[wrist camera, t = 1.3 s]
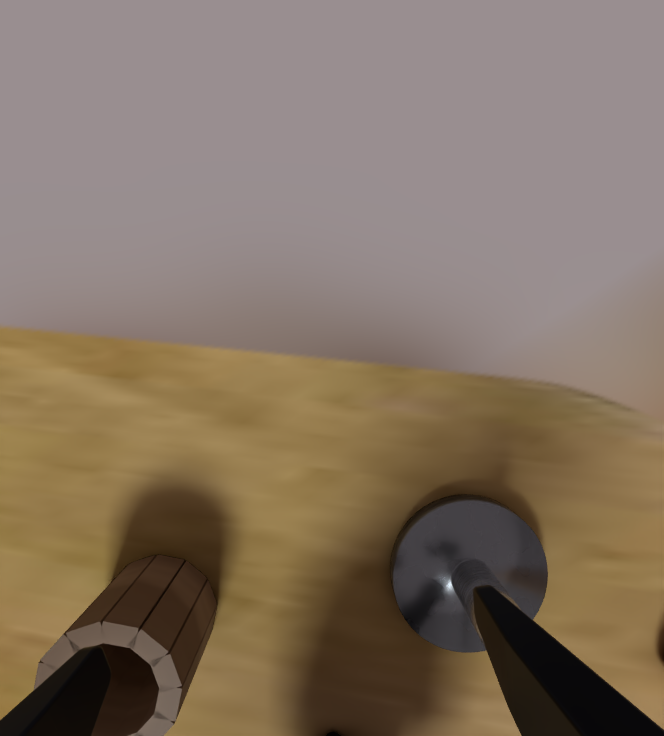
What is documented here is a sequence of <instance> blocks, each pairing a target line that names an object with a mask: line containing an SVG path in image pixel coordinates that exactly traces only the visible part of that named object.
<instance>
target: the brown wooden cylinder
mask: <svg viewBox="0 0 664 736" xmlns="http://www.w3.org/2000/svg"><path fill="white" fill-rule="evenodd" d="M206 579H207V577H205V576H204V575H203V574H202V573H201V572H199V571H198V570H197V569H196V568H195V567H194V566H192V565H191V564H190V563H189V562H188V561H186V562H185V563H184V559H178V558H173V557H168V556H163V555H157V556H156V555H153V556H150V557H147V558H144V559H141V560H138V561H135V562H132V563H130V564H129V565H127V566H126V567H125V568H124V569H123V570H122V571H121V573H120V574H119V575H118V576H117V577H116V578H115V579H114V580H113V581H112V582H111V583H110V584H109V585H108V587H107V588H106V589H105V590H104V591H103V592H102V593H101V594H100V595H99V596H98V597H97V598H96V600H95V601H94V602H93V603H92V604H91V605H90V606H89V607H88V608H87V609H86V610H85V611H84V612H83V614H82V615H81V616H80V617H79V618H78V619H77V620H76V621H75V622H74V623H73V624H72V625H71V626H70V628H69V629H68V630H67V631H66V632H65V633H64V634H63V635H62V636H61V637H60V638H59V640H58V641H57V642H56V643H55V644H54V645H53V646H52V647H51V648H50V650H49V651H48V652H47V653H46V654H45V655H44V656H43V657H42V658H41V661H40V662H39V664H38V669H37V675H36V680H35V686H34V690H35V689H36V688H37V687H38V686H39V685H40V684H42V683H43V682H44V681H45V680H46V679H47V678H48V677H49V676H50V675H52V674H53V673H54V672H55V671H56V670H57V669H58V668H59V667H61V666H62V665H63V664H64V663H65V662H66V661H67V660H68V659H69V658H71V657H72V656H73V655H74V654H75V653H76V652H77V651H79V650H80V649H82V648H84V647H90V646H96V645H99V646H101V647H102V648H103V650H104V653H105V655H106V658H107V660H108V663H109V666H110V668H111V681H110V684H109V687H108V690H107V693H106V696H105V699H104V701H103V704H102V707H101V710H100V713H99V716H98V718H97V721H96V724H95V727H94V730H93V732H92V735H91V736H164V734H165V733H166V732H167V731H168V730H169V729H170V728H171V727H172V726H173V725H174V723H175V721H176V719H177V716H178V714H179V711H180V709H181V706H182V704H183V701H184V699H185V697H186V694H187V692H188V689H189V687H190V684H191V682H192V679H193V677H194V674H195V672H196V669H197V667H198V664H199V662H200V660H201V657H202V655H203V652H204V650H205V647H206V645H207V642H208V640H209V637H210V635H211V632H212V629H213V624H214V619H215V614H216V609H217V606H216V605H217V603H216V600H215V597H214V594H213V592H212V589H211V586H210V583H209V580H206Z"/></svg>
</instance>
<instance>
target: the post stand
mask: <svg viewBox="0 0 664 736" xmlns="http://www.w3.org/2000/svg"><path fill="white" fill-rule="evenodd" d="M390 575H391V582H392V586H393V590H394V594H395V597H396V601H397V603H398V606H399V608H400V611H401V613H402V615H403V616H404V618H405V620H406V621H407V622H408V624H409V625H410V626H411V628H412V629H413V630H414V631H415V632H416V633H417V634H419V635H420V636H421V637H423V638H424V639H425V640H427V641H428V642H430V643H432V644H434V645H436V646H438V647H441V648H443V649H447V650H451V651H456V652H480V651H485V650H486V647H485V645H484V642H483V639H482V637H481V634H480V631H479V629H478V626H477V623H476V619H475V614H474V600H473V589H474V587H476V586H483V585H491V586H493V587H494V588H495V589H496V590H498V591H499V592H500V593H501V594H502V595H503V596H505V597H506V598H507V599H508V600H509V601H511V602H512V603H513V604H514V605H515V606H517V607H518V608H519V609H520V610H521V611H523V612H524V613H525V614H526V615H527V616H528V617H530V618H531V619H532V620H533V619H534V617H535V615H536V614H537V612H538V611H539V608H540V606H541V604H542V602H543V599H544V596H545V593H546V587H547V577H548V571H547V562H546V557H545V553H544V551H543V548H542V545H541V543H540V541H539V540H538V538H537V536H536V535H535V533H534V532H533V530H532V529H531V528H530V527H529V526H528V525H527V524H526V523H525V522H524V521H523V520H522V519H521V518H520V517H519V516H517V515H516V514H515V513H514V512H513V511H511V510H510V509H509V508H508V507H506V506H504V505H503V504H501V503H499V502H497V501H495V500H492V499H490V498H486V497H483V496H477V495H454V496H449V497H445V498H442V499H439V500H437V501H434V502H432V503H430V504H428V505H427V506H425V507H423V508H422V509H421V510H419V511H418V512H417V513H416V514H415V515H414V516H412V517H411V518H410V519H409V521H408V522H407V523H406V524H405V526H404V527H403V528H402V530H401V532H400V533H399V535H398V537H397V539H396V542H395V544H394V547H393V551H392V555H391V562H390ZM486 651H487V650H486Z"/></svg>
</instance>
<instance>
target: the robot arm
mask: <svg viewBox="0 0 664 736" xmlns="http://www.w3.org/2000/svg"><path fill="white" fill-rule="evenodd" d="M473 600H474V614H475V619H476V623H477V626H478V629H479V631H480V634H481V637H482V639H483V642H484V645H485V647H486V650H487V653H488V655H489V658H490V660H491V663H492V666H493V668H494V671H495V674H496V676H497V679H498V682H499V684H500V687H501V690H502V692H503V695H504V697H505V700H506V702H507V705H508V707H509V710H510V712H511V714H512V716H513V718H514V721H515V723H516V725H517V727H518V729H519V731H520V733H521V735H522V736H664V730H663V729H662V728H661V727H659V726H658V725H657V724H656V723H655V722H654V721H652V720H651V719H650V718H649V717H648V716H646V715H645V714H644V713H643V712H642V711H640V710H639V709H638V708H637V707H636V706H634V705H633V704H632V703H631V702H630V701H629V700H627V699H626V698H625V697H624V696H623V695H621V694H620V693H619V692H618V691H617V690H615V689H614V688H613V687H612V686H611V685H609V684H608V683H607V682H606V681H605V680H604V679H602V678H601V677H600V676H599V675H598V674H596V673H595V672H594V671H593V670H592V669H590V668H589V667H588V666H587V665H586V664H584V663H583V662H582V661H581V660H580V659H579V658H577V657H576V656H575V655H574V654H573V653H571V652H570V651H569V650H568V649H567V648H565V647H564V646H563V645H562V644H561V643H559V642H558V641H557V640H556V639H555V638H554V637H552V636H551V635H550V634H549V633H548V632H546V631H545V630H544V629H543V628H542V627H540V626H539V625H538V624H537V623H536V622H534V621H533V620H532V619H531V618H530V617H528V616H527V615H526V614H525V613H524V612H523V611H521V610H520V609H519V608H518V607H517V606H515V605H514V604H513V603H512V602H511V601H509V600H508V599H507V598H506V597H505V596H503V595H502V594H501V593H500V592H499V591H498V590H496V589H495V588H494V587H493V586H491V585H483V586H476V587H474V589H473ZM110 681H111V668H110V666H109V663H108V660H107V658H106V655H105V653H104V650H103V648H102V647H101V646H99V645H96V646H90V647H84V648H82V649H80V650H79V651H77V652H76V653H75V654H74V655H73V656H72V657H71V658H69V659H68V660H67V661H66V662H65V663H64V664H63V665H62V666H61V667H59V668H58V669H57V670H56V671H55V672H54V673H53V674H52V675H50V676H49V677H48V678H47V679H46V680H45V681H44V682H43V683H42V684H40V685H39V686H38V687H37V688H36V689H35V690H34V691H33V692H31V693H30V694H29V695H28V696H27V697H26V698H25V699H24V700H22V701H21V702H20V703H19V704H18V705H17V706H16V707H15V708H14V709H12V710H11V711H10V712H9V713H8V714H7V715H6V716H5V717H3V718H2V719H1V720H0V736H91V735H92V732H93V730H94V727H95V724H96V721H97V718H98V716H99V713H100V710H101V707H102V704H103V701H104V699H105V696H106V693H107V690H108V687H109V684H110ZM326 736H341V735H339V734H338V733H336V732H330V733H329V734H327V735H326Z"/></svg>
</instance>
